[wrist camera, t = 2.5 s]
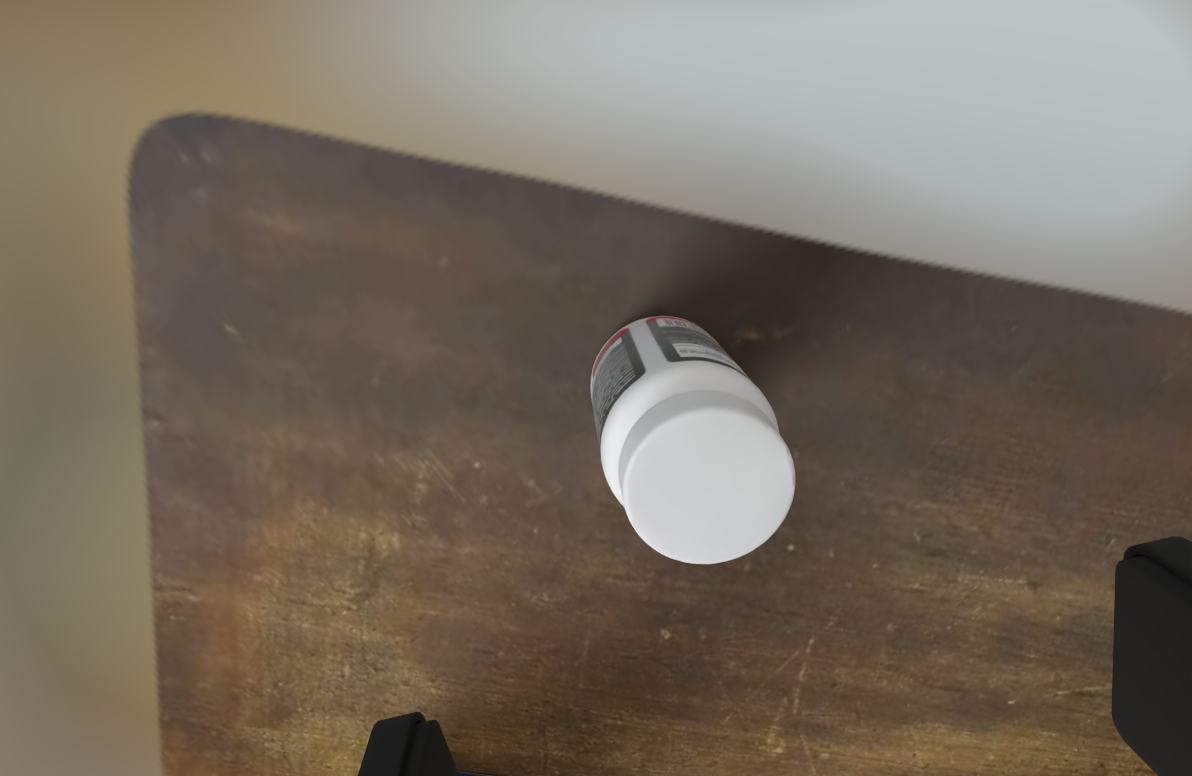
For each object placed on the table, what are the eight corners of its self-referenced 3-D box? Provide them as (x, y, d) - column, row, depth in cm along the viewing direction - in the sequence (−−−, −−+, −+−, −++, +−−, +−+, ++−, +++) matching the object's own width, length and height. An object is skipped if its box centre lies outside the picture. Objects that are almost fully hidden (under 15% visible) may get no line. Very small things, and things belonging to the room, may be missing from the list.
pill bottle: (621, 464, 24) (651, 610, 17) (567, 347, 23) (571, 446, 15) (746, 413, 24) (837, 537, 16) (699, 290, 23) (774, 360, 15)
